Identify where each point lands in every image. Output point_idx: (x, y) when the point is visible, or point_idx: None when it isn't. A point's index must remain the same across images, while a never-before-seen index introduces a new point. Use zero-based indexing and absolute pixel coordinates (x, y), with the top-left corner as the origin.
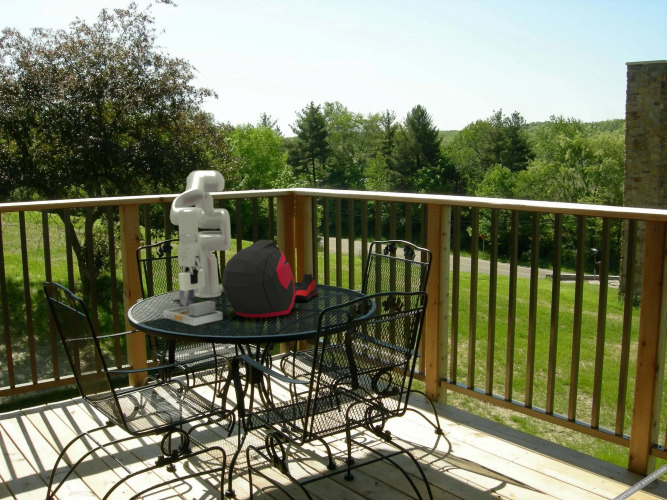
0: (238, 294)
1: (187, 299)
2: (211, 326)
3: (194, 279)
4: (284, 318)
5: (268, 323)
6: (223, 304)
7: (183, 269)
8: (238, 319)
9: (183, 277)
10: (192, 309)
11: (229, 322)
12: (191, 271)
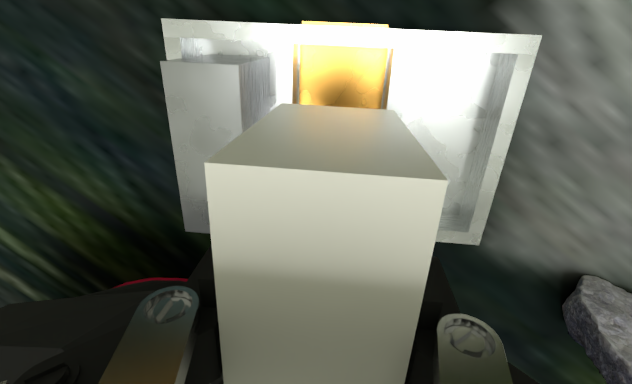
0: (21, 314)
1: (581, 302)
2: (112, 75)
3: (209, 259)
4: None
5: (16, 253)
6: None
7: (481, 381)
8: (154, 237)
9: (257, 143)
10: (205, 60)
11: (130, 181)
12: (166, 332)
